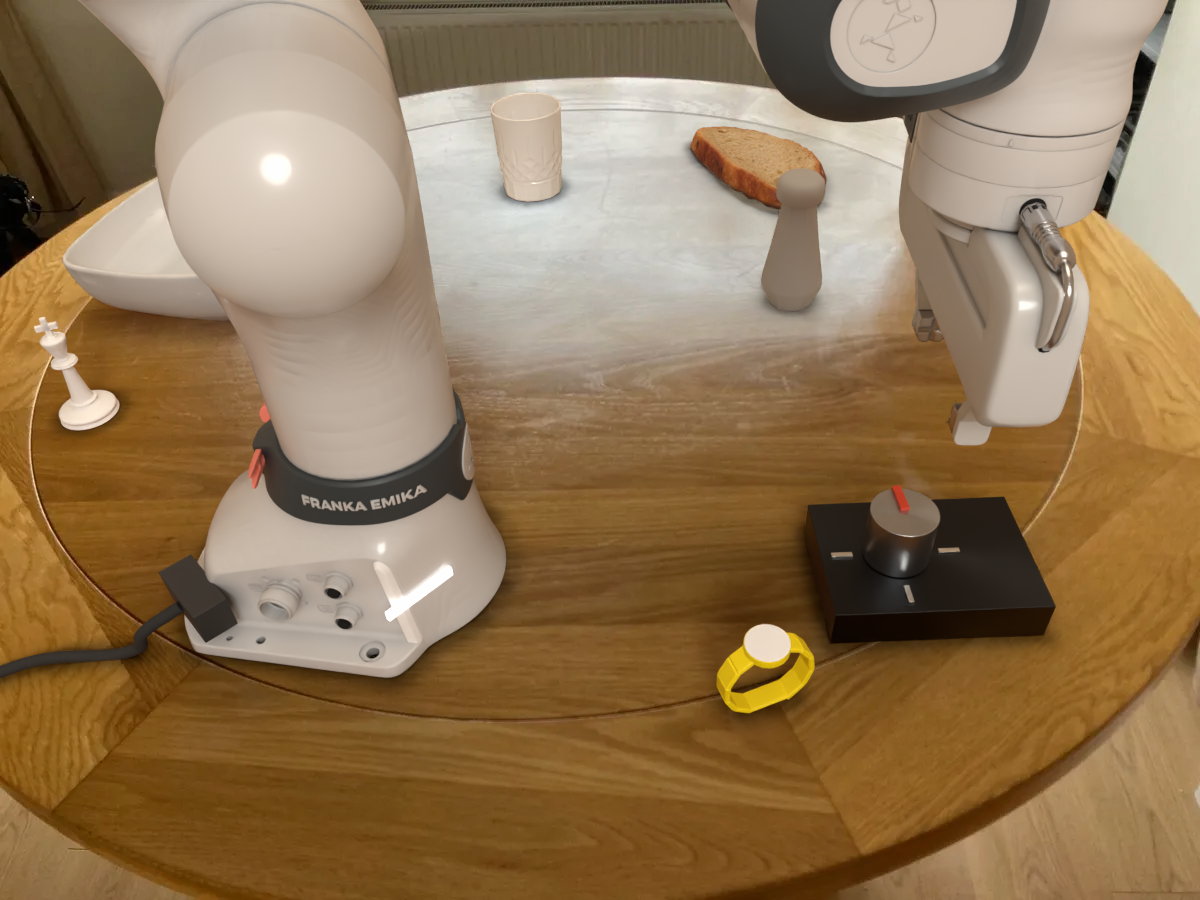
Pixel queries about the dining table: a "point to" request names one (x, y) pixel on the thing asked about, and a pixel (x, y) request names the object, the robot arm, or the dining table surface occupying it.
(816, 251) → the salt shaker
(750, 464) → the dining table surface
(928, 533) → the knob
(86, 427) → the chess piece
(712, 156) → the bread slice
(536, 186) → the white cup
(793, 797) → the dining table surface
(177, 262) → the bowl
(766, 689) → the watch
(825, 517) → the black dial panel
